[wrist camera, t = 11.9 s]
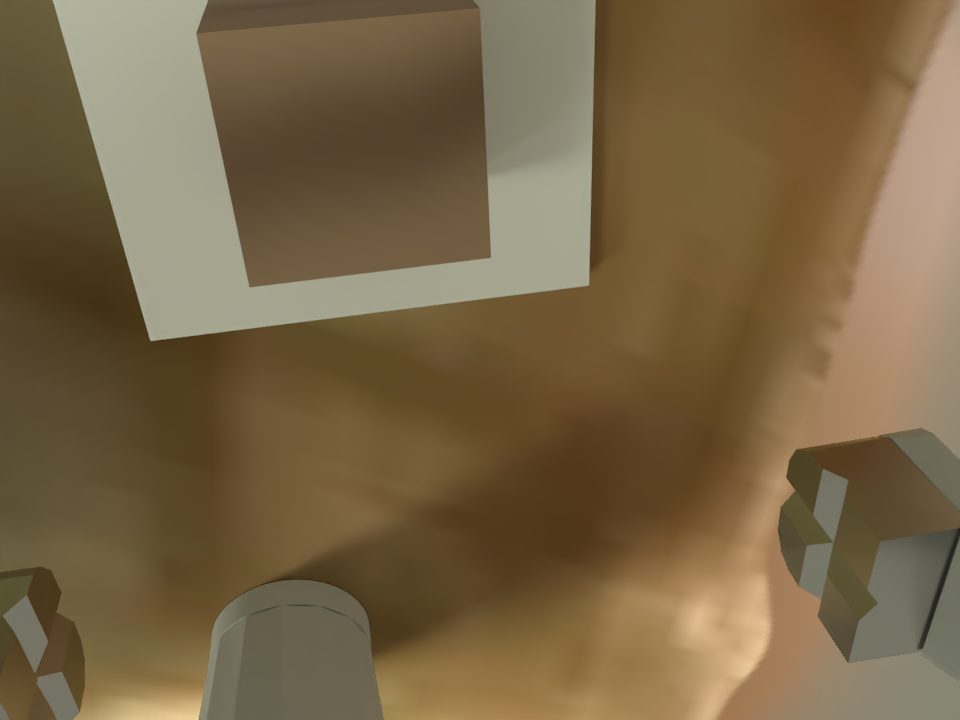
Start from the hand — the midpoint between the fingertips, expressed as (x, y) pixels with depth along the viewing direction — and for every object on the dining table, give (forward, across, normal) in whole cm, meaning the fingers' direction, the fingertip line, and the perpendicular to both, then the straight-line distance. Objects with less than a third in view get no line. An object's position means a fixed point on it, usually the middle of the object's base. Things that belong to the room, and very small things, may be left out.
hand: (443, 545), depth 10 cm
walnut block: (+18, 0, 0) cm, 18 cm away
